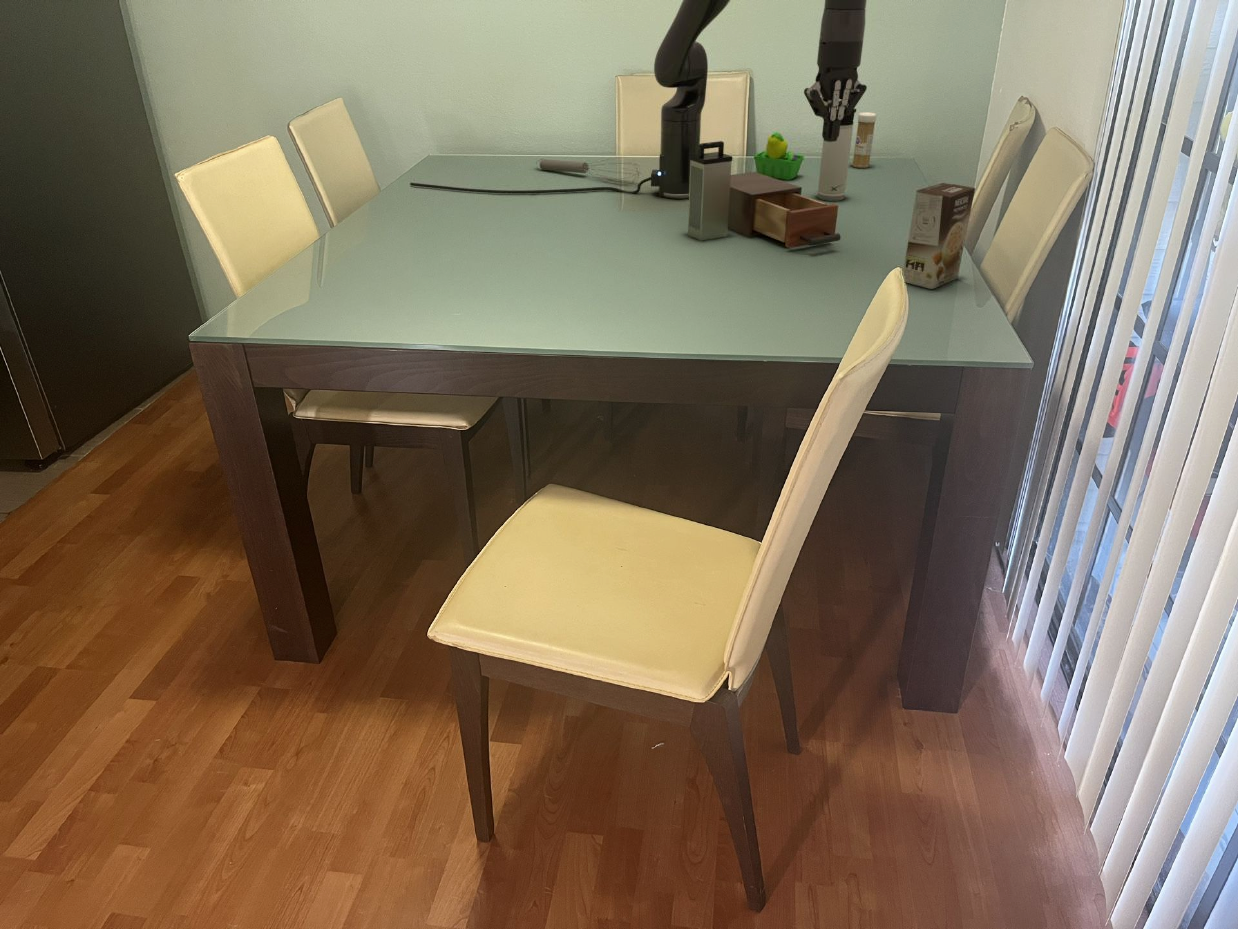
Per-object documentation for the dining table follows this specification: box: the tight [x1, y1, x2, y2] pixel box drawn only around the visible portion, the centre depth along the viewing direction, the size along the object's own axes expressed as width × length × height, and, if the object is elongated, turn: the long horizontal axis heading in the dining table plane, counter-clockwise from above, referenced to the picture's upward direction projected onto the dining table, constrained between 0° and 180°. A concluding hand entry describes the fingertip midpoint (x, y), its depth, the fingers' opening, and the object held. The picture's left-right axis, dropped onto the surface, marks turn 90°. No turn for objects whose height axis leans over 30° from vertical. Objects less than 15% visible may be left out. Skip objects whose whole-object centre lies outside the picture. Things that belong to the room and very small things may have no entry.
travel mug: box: [816, 108, 857, 202], centre depth 207 cm, size 6×7×20 cm
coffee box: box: [902, 182, 976, 290], centre depth 157 cm, size 9×6×16 cm
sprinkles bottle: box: [851, 112, 877, 169], centre depth 237 cm, size 5×5×14 cm
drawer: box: [753, 193, 842, 249], centre depth 180 cm, size 20×11×7 cm, turn 29°
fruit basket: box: [753, 131, 805, 181], centre depth 228 cm, size 11×9×11 cm
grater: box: [687, 140, 733, 242], centre depth 181 cm, size 5×7×18 cm
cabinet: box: [728, 171, 803, 238], centre depth 191 cm, size 17×13×9 cm
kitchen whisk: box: [535, 156, 642, 185], centre depth 230 cm, size 6×34×6 cm, turn 53°
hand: (829, 140), depth 165 cm, fingers closed
